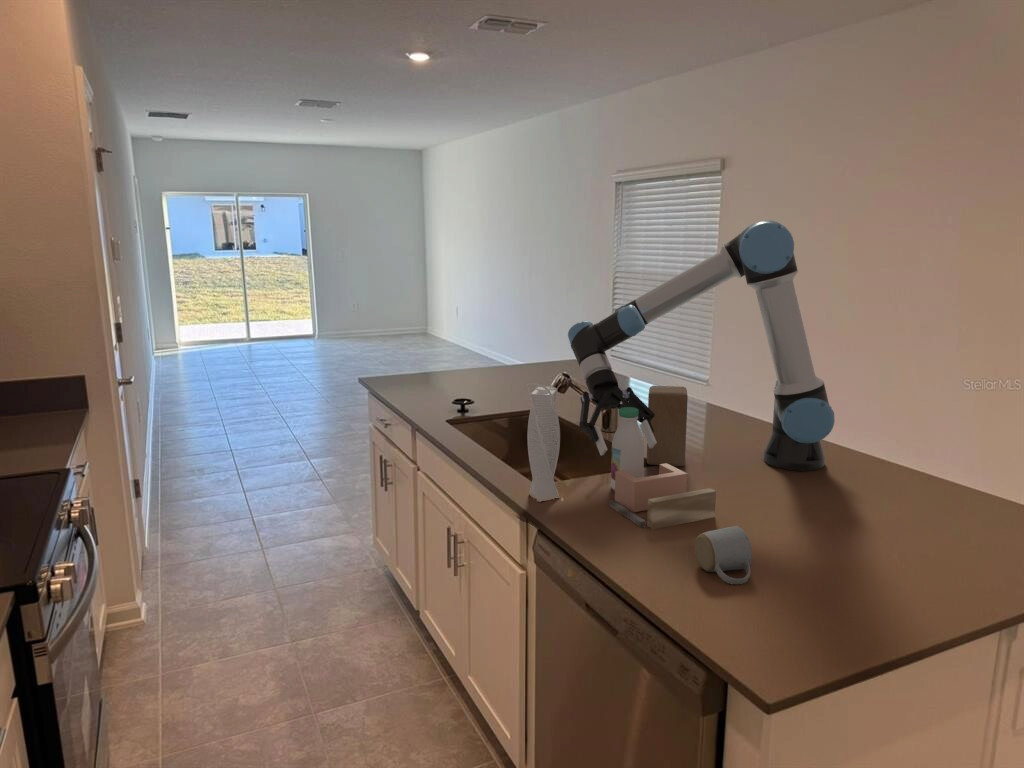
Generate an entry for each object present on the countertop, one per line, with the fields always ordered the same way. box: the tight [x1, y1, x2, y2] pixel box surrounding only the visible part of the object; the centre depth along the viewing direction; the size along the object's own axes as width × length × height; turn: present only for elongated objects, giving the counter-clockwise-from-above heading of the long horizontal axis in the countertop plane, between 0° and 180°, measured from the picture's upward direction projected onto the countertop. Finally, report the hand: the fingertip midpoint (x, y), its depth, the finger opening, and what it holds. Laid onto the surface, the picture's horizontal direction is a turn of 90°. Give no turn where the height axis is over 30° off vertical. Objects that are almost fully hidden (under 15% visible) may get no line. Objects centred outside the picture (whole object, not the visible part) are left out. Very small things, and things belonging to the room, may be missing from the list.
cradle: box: [614, 463, 688, 513], centre depth 159 cm, size 8×14×7 cm, turn 113°
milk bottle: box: [610, 407, 645, 491], centre depth 167 cm, size 8×8×20 cm
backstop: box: [608, 487, 717, 530], centre depth 154 cm, size 15×19×6 cm
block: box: [646, 385, 689, 467], centre depth 187 cm, size 10×10×20 cm
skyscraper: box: [526, 382, 561, 500], centre depth 161 cm, size 8×8×28 cm
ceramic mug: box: [694, 525, 753, 585], centre depth 126 cm, size 11×8×8 cm
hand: (629, 449), depth 166 cm, fingers open, 13 cm apart
